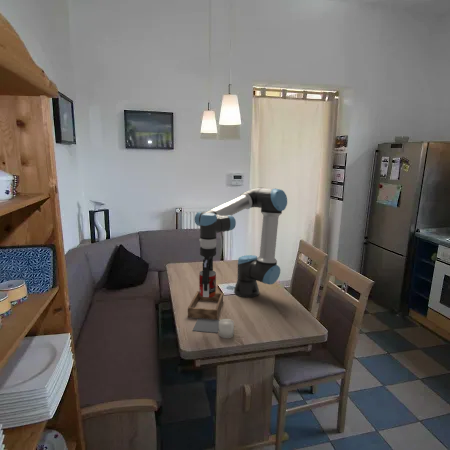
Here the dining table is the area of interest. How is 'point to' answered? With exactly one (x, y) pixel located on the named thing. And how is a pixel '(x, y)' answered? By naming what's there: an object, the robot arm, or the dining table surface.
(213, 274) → the canned food
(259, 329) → the dining table surface
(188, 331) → the dining table surface
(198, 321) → the mat
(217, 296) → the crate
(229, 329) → the off-white domed pebble
